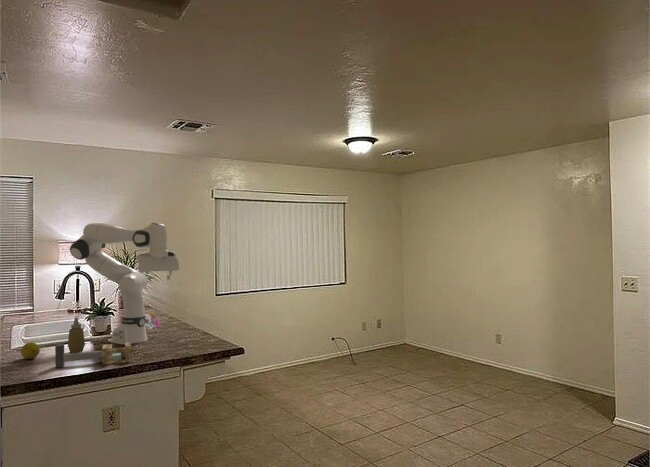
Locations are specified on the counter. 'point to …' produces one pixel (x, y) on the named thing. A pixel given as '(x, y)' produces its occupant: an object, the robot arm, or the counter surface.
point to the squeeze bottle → (76, 338)
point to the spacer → (116, 356)
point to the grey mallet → (73, 355)
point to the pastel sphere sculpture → (151, 321)
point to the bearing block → (108, 352)
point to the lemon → (30, 350)
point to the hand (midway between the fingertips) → (159, 279)
